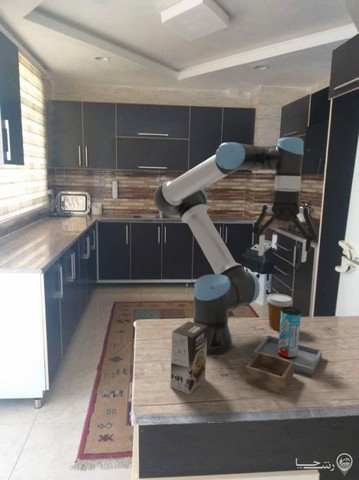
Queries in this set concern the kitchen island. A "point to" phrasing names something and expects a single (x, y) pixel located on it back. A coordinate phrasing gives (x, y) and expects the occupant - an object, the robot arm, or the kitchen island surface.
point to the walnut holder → (266, 378)
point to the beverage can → (289, 332)
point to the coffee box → (188, 356)
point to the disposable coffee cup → (277, 308)
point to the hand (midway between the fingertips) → (281, 258)
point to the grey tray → (302, 362)
